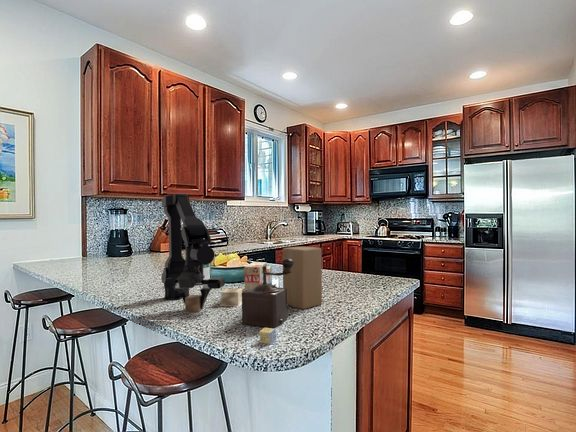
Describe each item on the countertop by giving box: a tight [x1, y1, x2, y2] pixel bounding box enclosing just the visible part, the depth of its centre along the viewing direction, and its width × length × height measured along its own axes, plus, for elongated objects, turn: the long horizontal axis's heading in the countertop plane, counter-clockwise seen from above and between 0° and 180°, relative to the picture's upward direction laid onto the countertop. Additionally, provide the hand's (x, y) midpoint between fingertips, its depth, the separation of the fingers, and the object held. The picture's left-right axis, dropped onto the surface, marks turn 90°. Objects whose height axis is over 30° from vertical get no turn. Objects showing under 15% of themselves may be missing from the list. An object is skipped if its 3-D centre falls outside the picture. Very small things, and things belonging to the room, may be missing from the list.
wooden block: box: [282, 245, 323, 310], centre depth 119 cm, size 10×10×20 cm
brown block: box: [184, 294, 204, 313], centre depth 111 cm, size 4×4×5 cm
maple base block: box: [220, 288, 243, 305], centre depth 120 cm, size 6×6×4 cm
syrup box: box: [203, 262, 212, 280], centre depth 159 cm, size 6×6×14 cm
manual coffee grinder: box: [241, 258, 293, 329], centre depth 102 cm, size 16×11×18 cm
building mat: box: [219, 302, 242, 307], centre depth 119 cm, size 13×15×1 cm
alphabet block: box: [259, 328, 277, 345], centre depth 84 cm, size 3×3×3 cm
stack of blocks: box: [243, 261, 273, 292], centre depth 140 cm, size 21×6×12 cm, turn 170°
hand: (194, 308), depth 111 cm, fingers closed on brown block, 5 cm apart
